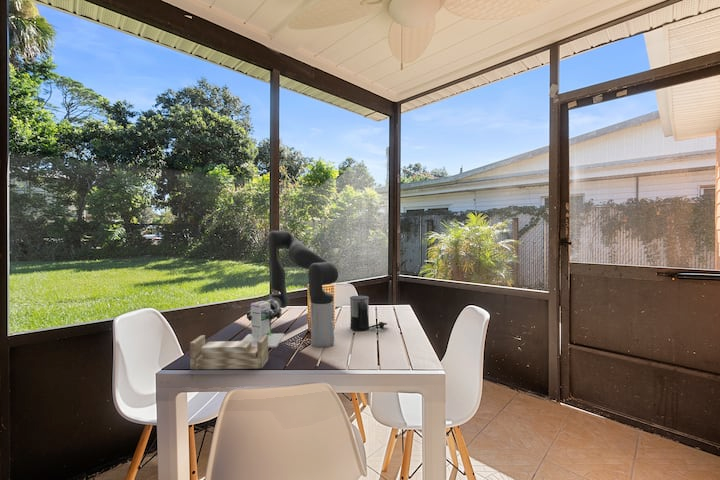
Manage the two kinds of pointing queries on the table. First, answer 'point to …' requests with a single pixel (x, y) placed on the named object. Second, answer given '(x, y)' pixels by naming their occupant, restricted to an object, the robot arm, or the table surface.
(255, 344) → the white mat
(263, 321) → the syrup box
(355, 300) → the milk frother
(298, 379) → the table surface
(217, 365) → the offcut rack
